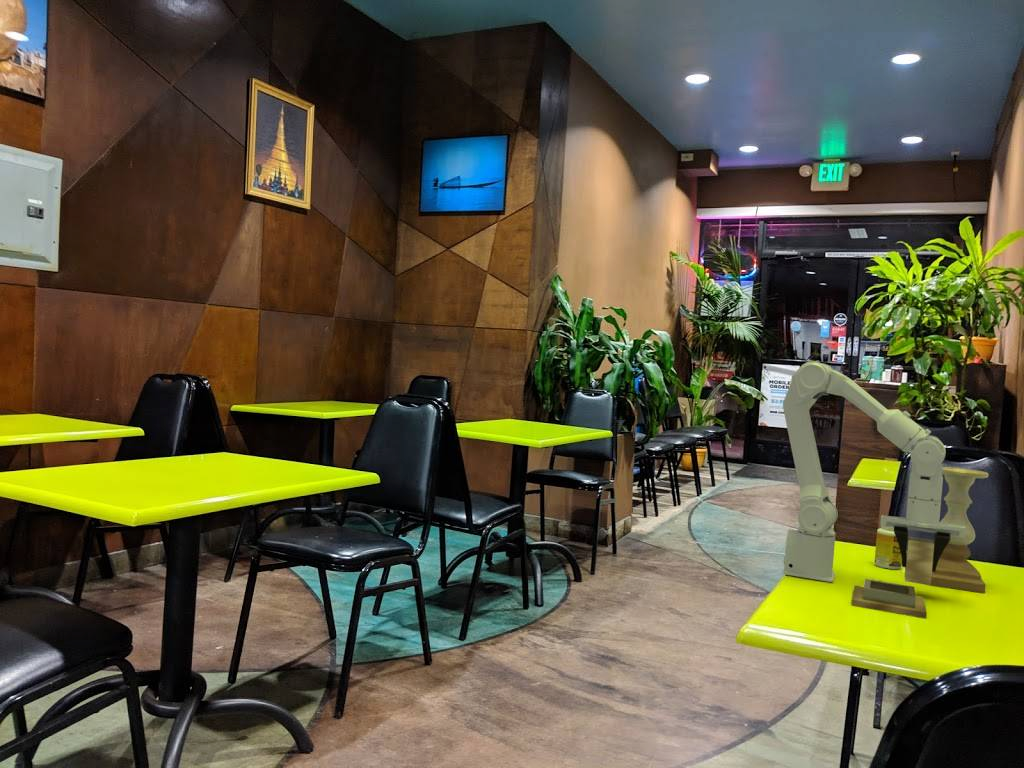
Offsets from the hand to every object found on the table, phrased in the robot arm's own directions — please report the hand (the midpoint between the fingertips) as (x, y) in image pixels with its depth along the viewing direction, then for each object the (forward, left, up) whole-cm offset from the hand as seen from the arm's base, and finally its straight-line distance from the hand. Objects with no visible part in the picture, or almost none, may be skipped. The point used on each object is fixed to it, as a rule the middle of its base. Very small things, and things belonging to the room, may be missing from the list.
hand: (918, 568), depth 153 cm
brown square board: (-5, -11, -5) cm, 13 cm away
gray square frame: (-5, -11, -5) cm, 13 cm away
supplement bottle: (-5, +24, -5) cm, 25 cm away
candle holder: (+7, +17, -6) cm, 19 cm away
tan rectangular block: (0, 0, -2) cm, 2 cm away
